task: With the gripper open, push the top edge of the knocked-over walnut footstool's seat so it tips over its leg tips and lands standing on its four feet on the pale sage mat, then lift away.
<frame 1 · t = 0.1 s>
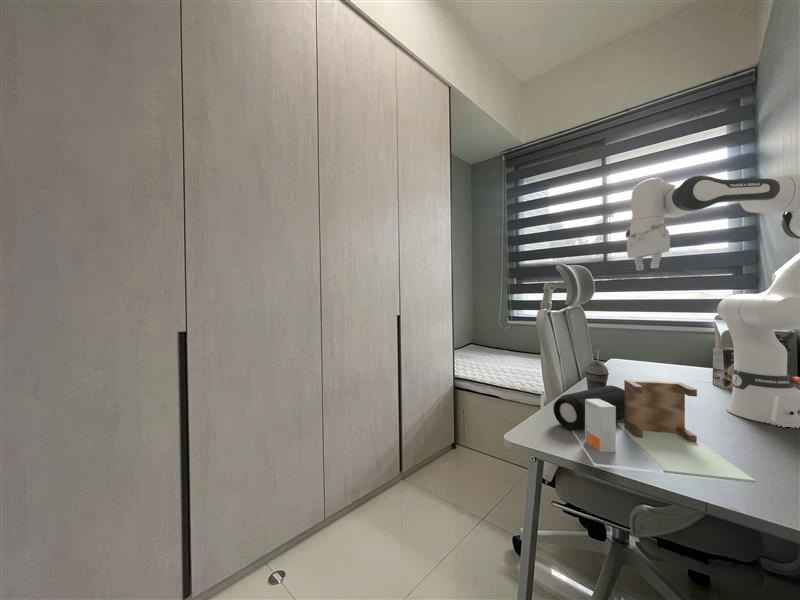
hand: (647, 269, 106), 48 cm above the table, tool pointing down, fingers open, 8 cm apart
beverage cup: (596, 405, 111), on the table
portable speaker: (593, 422, 97), on the table
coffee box: (730, 387, 129), on the table
stool: (658, 434, 87), resting on mat
skincare box: (600, 449, 81), on the table
mat: (673, 448, 80), on the table
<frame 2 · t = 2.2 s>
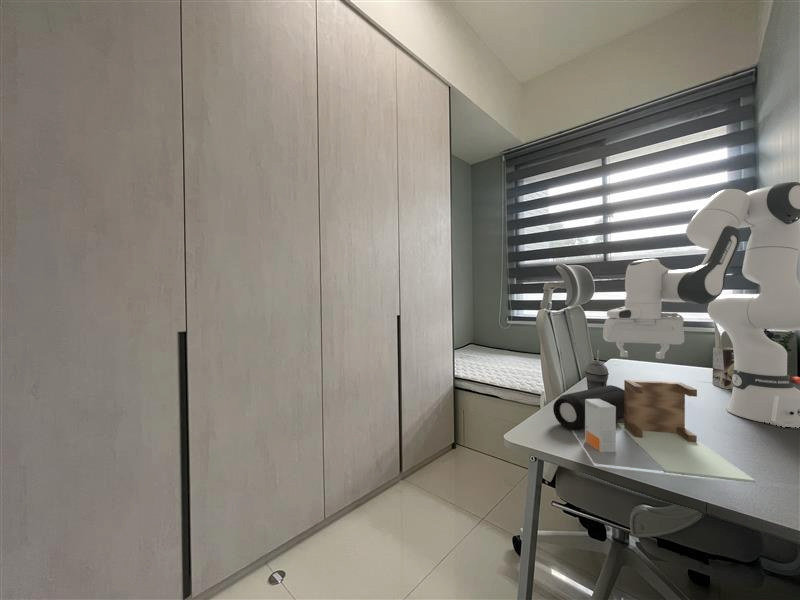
hand: (641, 357, 95), 20 cm above the table, tool pointing down, fingers open, 8 cm apart
nothing on the table moved.
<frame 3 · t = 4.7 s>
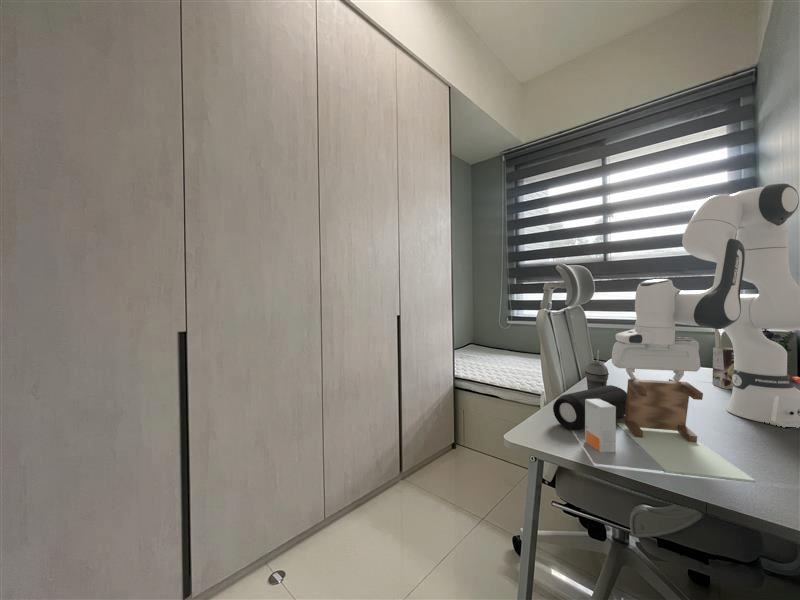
hand: (653, 384, 89), 14 cm above the table, tool pointing down, fingers open, 8 cm apart
stool: (658, 432, 87), point 1 cm above the table, tilted 10°, touching gripper, mat
everything else where it was.
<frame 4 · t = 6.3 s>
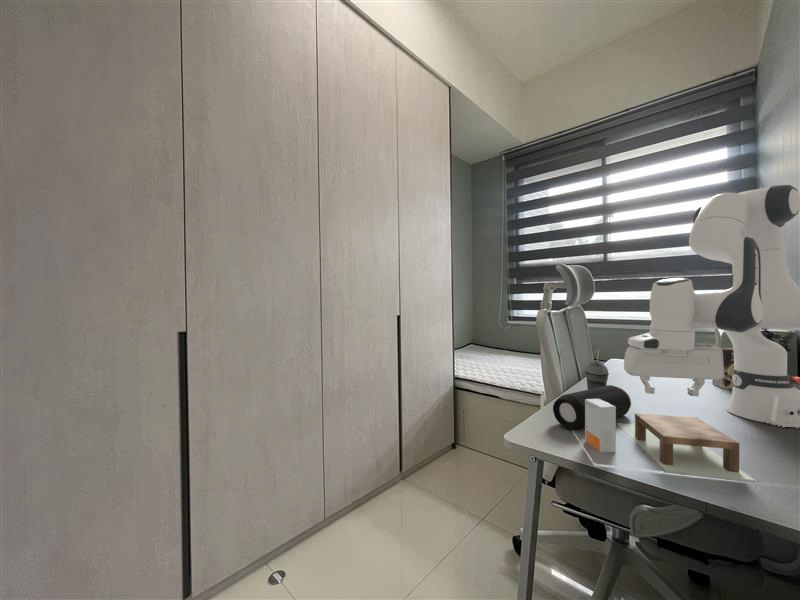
hand: (671, 394, 81), 14 cm above the table, tool pointing down, fingers open, 8 cm apart
stool: (665, 427, 84), point 4 cm above the table, tilted 90°, touching mat
everything else where it was.
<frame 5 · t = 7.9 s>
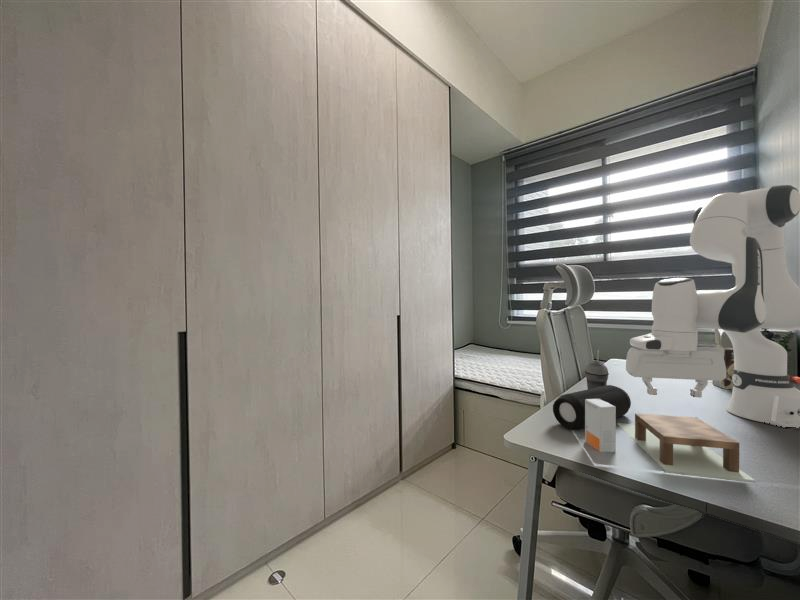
hand: (673, 395, 80), 14 cm above the table, tool pointing down, fingers open, 8 cm apart
nothing on the table moved.
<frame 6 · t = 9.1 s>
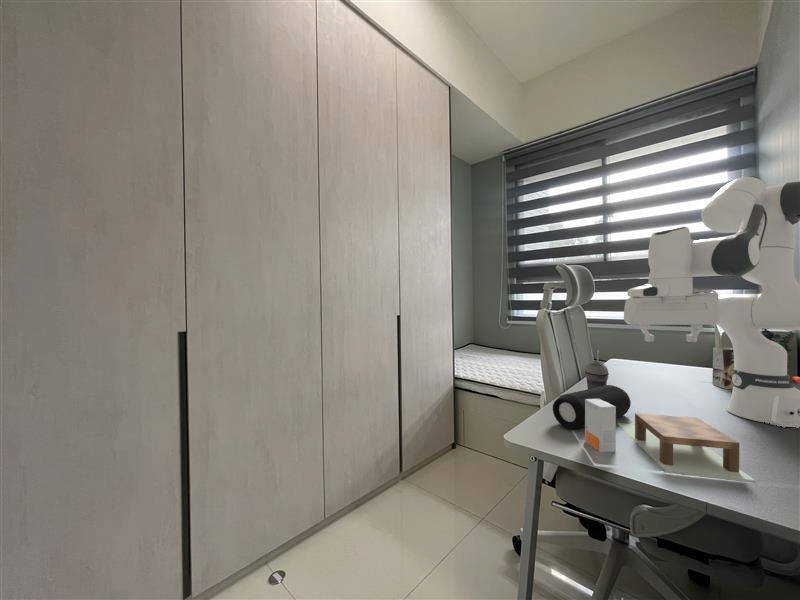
hand: (670, 341, 83), 27 cm above the table, tool pointing down, fingers open, 8 cm apart
nothing on the table moved.
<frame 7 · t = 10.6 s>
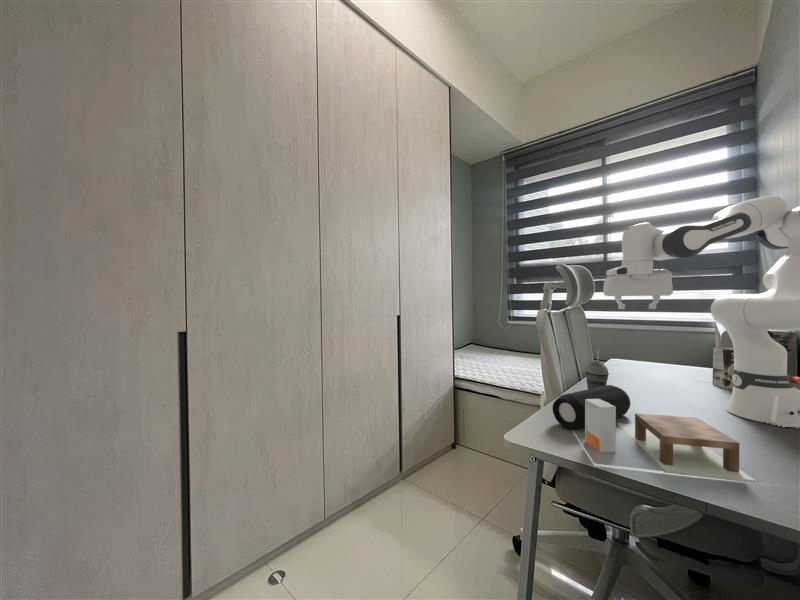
hand: (636, 308, 111), 34 cm above the table, tool pointing down, fingers open, 8 cm apart
nothing on the table moved.
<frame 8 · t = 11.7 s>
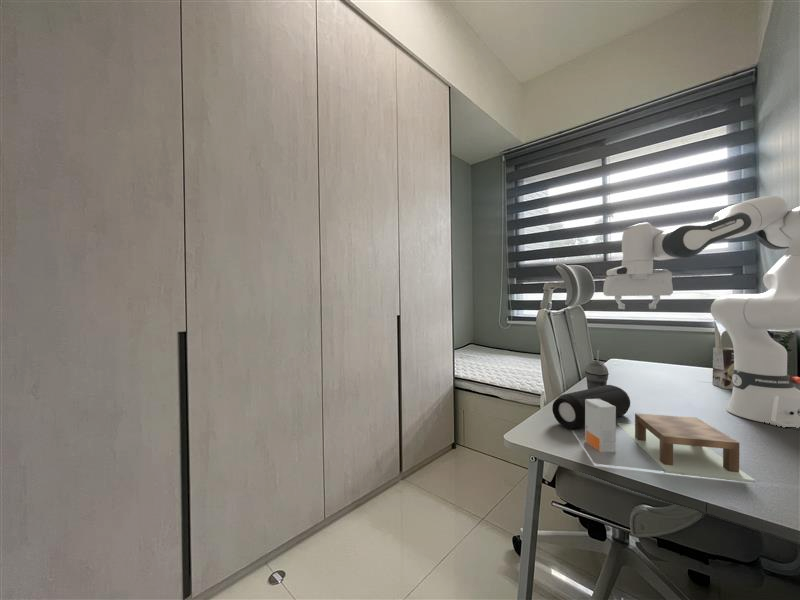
hand: (636, 308, 111), 34 cm above the table, tool pointing down, fingers open, 8 cm apart
nothing on the table moved.
at the end: stool tilted 90°; stool inside the target area (0.2 cm from its centre), point 3.8 cm above the table; stool touching mat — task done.
